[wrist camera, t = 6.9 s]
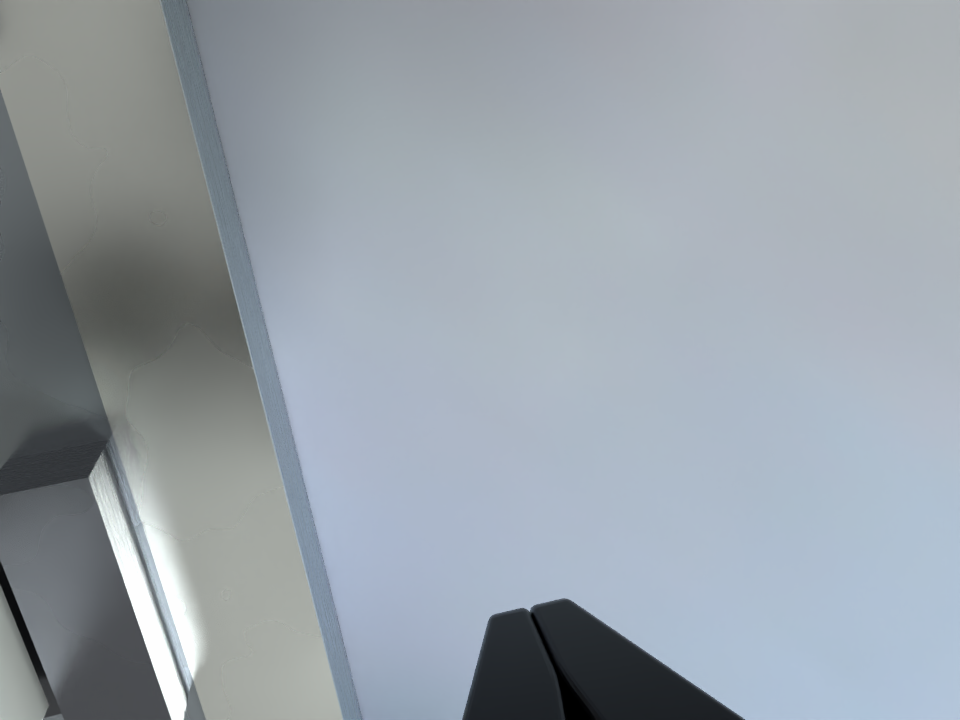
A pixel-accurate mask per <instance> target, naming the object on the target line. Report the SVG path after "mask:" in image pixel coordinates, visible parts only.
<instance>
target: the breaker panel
mask: <svg viewBox="0 0 960 720" xmlns="http://www.w3.org/2000/svg"><path fill="white" fill-rule="evenodd" d="M0 585H1V587H2V590H3V592H4V595H5V597H6V600H7V602H8V605H9V607H10V610H11V612H12V615H13V617H14V620H15V622H16V624H17V627H18V629H19V632H20V634H21V637H22V639H23V642H24V644H25V647H26V649H27V652H28V654H29V657H30V659H31V662H32V664H33V666H34V669H35V671H36V674H37V676H38V679H39V681H40V684H41V686H42V689H43V691H44V694H45V696H46V699H47V701H48V704H49V706H48V709H47V711H46V714H45V716H44V718H43V720H362V717H361V713H360V708H359V704H358V700H357V696H356V692H355V688H354V684H353V680H352V676H351V672H350V668H349V664H348V659H347V655H346V651H345V647H344V643H343V639H342V635H341V631H340V627H339V623H338V619H337V615H336V610H335V606H334V602H333V598H332V594H331V590H330V586H329V582H328V578H327V574H326V570H325V566H324V561H323V557H322V553H321V549H320V545H319V541H318V537H317V533H316V529H315V525H314V521H313V517H312V512H311V508H310V504H309V500H308V496H307V492H306V488H305V484H304V480H303V476H302V472H301V468H300V463H299V459H298V455H297V451H296V447H295V443H294V439H293V435H292V431H291V427H290V423H289V419H288V414H287V410H286V406H285V402H284V398H283V394H282V390H281V386H280V382H279V378H278V374H277V370H276V365H275V361H274V357H273V353H272V349H271V345H270V341H269V337H268V333H267V329H266V325H265V321H264V316H263V312H262V308H261V304H260V300H259V296H258V292H257V288H256V284H255V280H254V276H253V272H252V267H251V263H250V259H249V255H248V251H247V247H246V243H245V239H244V235H243V231H242V227H241V222H240V218H239V214H238V210H237V206H236V202H235V198H234V194H233V190H232V186H231V182H230V178H229V173H228V169H227V165H226V161H225V157H224V153H223V149H222V145H221V141H220V137H219V133H218V129H217V124H216V120H215V116H214V112H213V108H212V104H211V100H210V96H209V92H208V88H207V84H206V80H205V75H204V71H203V67H202V63H201V59H200V55H199V51H198V47H197V43H196V39H195V35H194V31H193V26H192V22H191V18H190V14H189V10H188V6H187V2H186V0H0Z"/></svg>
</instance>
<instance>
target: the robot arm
mask: <svg viewBox="0 0 960 720" xmlns="http://www.w3.org/2000/svg"><path fill="white" fill-rule="evenodd" d="M462 720H745V719H743V718H742V717H741V716H739V715H738V714H736V713H735V712H733V711H732V710H730V709H729V708H727V707H726V706H724V705H723V704H722V703H720V702H719V701H717V700H716V699H714V698H713V697H711V696H710V695H708V694H707V693H705V692H704V691H703V690H701V689H700V688H698V687H697V686H695V685H694V684H692V683H691V682H689V681H688V680H686V679H685V678H684V677H682V676H681V675H679V674H678V673H676V672H675V671H673V670H672V669H670V668H669V667H667V666H666V665H665V664H663V663H662V662H660V661H659V660H657V659H656V658H654V657H653V656H651V655H650V654H648V653H647V652H646V651H644V650H643V649H641V648H640V647H638V646H637V645H635V644H634V643H632V642H631V641H629V640H628V639H627V638H625V637H624V636H622V635H621V634H619V633H618V632H616V631H615V630H613V629H612V628H610V627H609V626H608V625H606V624H605V623H603V622H602V621H600V620H599V619H597V618H596V617H594V616H593V615H591V614H590V613H589V612H587V611H586V610H584V609H583V608H581V607H580V606H578V605H577V604H575V603H574V602H572V601H571V600H569V599H559V600H554V601H550V602H546V603H542V604H537V605H534V606H533V607H532V608H531V610H530V612H529V611H528V610H527V609H524V608H520V609H515V610H511V611H507V612H502V613H498V614H494V615H492V616H491V617H490V619H489V621H488V624H487V628H486V631H485V635H484V639H483V643H482V647H481V650H480V654H479V658H478V662H477V666H476V669H475V673H474V677H473V681H472V685H471V688H470V692H469V696H468V700H467V704H466V707H465V711H464V715H463V719H462Z"/></svg>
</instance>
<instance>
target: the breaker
mask: <svg viewBox="0 0 960 720" xmlns="http://www.w3.org/2000/svg"><path fill="white" fill-rule="evenodd" d="M48 706H49V704H48V701H47V699H46V696H45V694H44V691H43V689H42V686H41V684H40V681H39V679H38V676H37V674H36V671H35V669H34V666H33V664H32V662H31V659H30V657H29V654H28V652H27V649H26V647H25V644H24V642H23V639H22V637H21V634H20V632H19V629H18V627H17V624H16V622H15V620H14V617H13V615H12V612H11V610H10V607H9V605H8V602H7V600H6V597H5V595H4V592H3V590H2V587H1V585H0V720H43V718H44V716H45V714H46V711H47V709H48Z"/></svg>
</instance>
